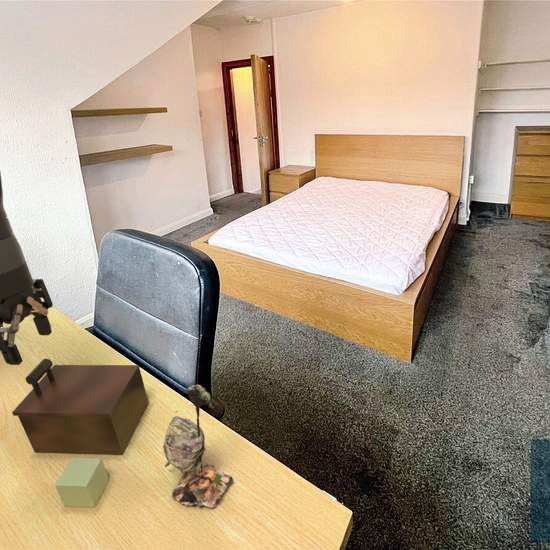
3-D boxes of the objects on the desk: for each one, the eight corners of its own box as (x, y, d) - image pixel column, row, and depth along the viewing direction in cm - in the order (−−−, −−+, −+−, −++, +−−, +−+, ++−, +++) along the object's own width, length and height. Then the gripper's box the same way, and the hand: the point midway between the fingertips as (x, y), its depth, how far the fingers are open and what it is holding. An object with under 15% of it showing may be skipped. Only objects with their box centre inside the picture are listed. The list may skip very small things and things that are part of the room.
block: (64, 506, 64) (54, 485, 62) (80, 478, 69) (72, 457, 66) (94, 507, 64) (86, 486, 61) (109, 479, 68) (101, 458, 66)
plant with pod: (192, 451, 72) (172, 360, 63) (240, 483, 66) (225, 386, 57) (155, 486, 66) (127, 390, 58) (204, 524, 60) (181, 424, 51)
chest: (34, 452, 74) (17, 416, 70) (71, 402, 86) (59, 368, 82) (122, 455, 72) (110, 417, 68) (148, 403, 84) (139, 368, 80)
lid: (13, 415, 70) (2, 391, 68) (55, 368, 82) (47, 345, 79) (110, 417, 68) (102, 392, 66) (139, 368, 80) (133, 345, 78)
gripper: (6, 248, 72) (36, 326, 79) (-60, 285, 59) (-18, 375, 66) (46, 246, 71) (73, 325, 78) (-12, 284, 58) (26, 375, 65)
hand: (31, 348), depth 72 cm, fingers open, 8 cm apart
